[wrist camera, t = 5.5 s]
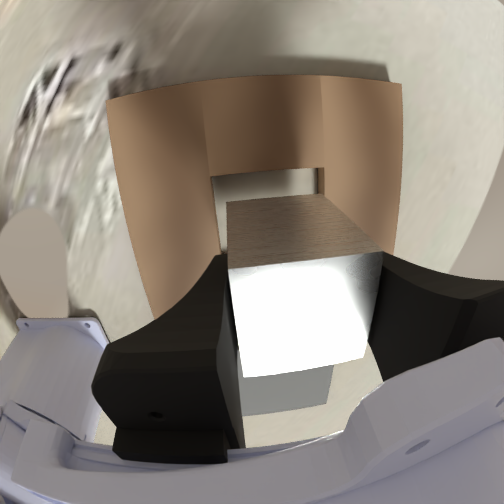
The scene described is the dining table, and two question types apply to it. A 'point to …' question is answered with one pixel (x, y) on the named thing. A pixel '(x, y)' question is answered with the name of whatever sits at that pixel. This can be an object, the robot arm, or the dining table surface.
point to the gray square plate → (283, 389)
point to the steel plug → (299, 283)
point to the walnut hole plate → (248, 160)
